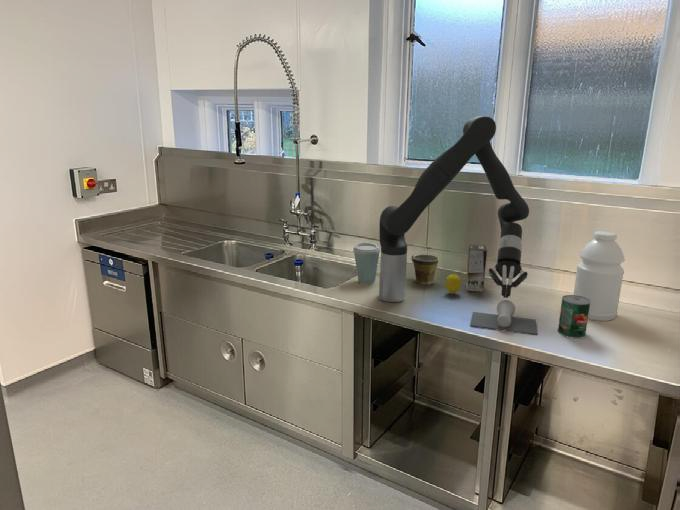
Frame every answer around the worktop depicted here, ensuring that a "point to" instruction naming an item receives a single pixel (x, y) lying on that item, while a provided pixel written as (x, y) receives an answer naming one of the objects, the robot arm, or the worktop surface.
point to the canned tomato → (574, 316)
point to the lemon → (453, 283)
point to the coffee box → (476, 267)
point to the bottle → (600, 275)
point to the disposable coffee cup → (366, 261)
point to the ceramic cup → (425, 268)
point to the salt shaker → (505, 313)
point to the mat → (491, 322)
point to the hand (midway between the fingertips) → (505, 296)
